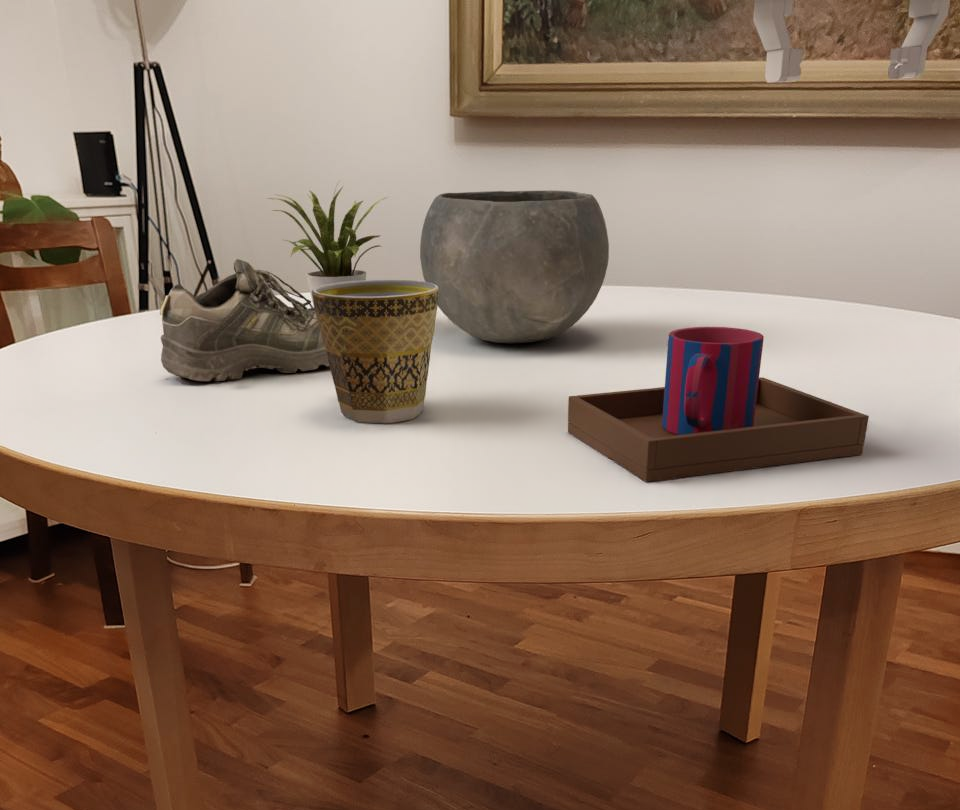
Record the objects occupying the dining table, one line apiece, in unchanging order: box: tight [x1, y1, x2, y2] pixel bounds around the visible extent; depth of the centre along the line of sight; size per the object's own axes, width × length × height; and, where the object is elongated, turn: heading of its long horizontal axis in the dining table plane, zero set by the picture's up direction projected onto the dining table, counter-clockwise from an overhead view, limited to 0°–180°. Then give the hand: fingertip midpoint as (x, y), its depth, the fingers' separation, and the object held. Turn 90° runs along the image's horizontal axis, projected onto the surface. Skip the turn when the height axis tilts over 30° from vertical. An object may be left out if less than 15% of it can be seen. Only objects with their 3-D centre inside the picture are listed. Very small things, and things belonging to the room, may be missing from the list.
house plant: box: [266, 181, 389, 306], centre depth 115 cm, size 14×14×16 cm
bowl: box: [419, 189, 610, 345], centre depth 107 cm, size 20×20×15 cm
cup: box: [662, 326, 765, 435], centre depth 71 cm, size 7×10×7 cm
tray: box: [567, 377, 870, 483], centre depth 72 cm, size 17×13×3 cm
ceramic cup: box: [311, 279, 438, 424], centre depth 81 cm, size 13×10×10 cm
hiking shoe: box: [159, 258, 330, 383], centre depth 97 cm, size 9×21×12 cm
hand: (844, 80), depth 64 cm, fingers open, 8 cm apart
